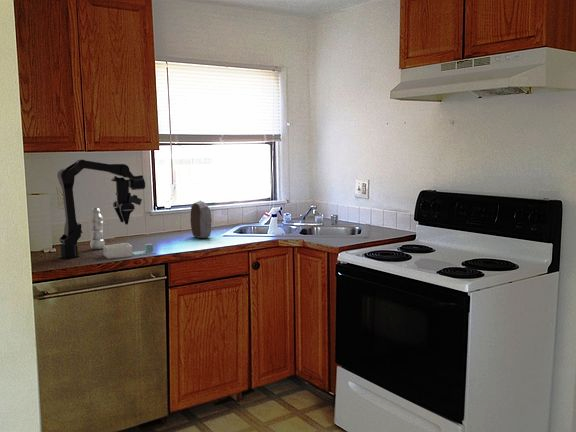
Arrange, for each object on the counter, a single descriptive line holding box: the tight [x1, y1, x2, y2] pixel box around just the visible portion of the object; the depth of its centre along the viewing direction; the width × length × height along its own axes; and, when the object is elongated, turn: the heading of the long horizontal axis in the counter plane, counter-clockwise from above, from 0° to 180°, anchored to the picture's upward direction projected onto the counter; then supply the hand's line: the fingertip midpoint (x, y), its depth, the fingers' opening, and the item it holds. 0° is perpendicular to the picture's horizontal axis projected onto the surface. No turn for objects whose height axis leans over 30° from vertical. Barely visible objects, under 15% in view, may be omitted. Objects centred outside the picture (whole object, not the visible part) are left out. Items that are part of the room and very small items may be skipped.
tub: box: [102, 242, 134, 260], centre depth 252 cm, size 11×9×5 cm
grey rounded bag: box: [190, 200, 213, 239], centre depth 298 cm, size 15×8×20 cm, turn 37°
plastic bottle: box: [88, 207, 106, 250], centre depth 268 cm, size 6×7×20 cm
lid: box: [133, 243, 156, 256], centre depth 257 cm, size 9×7×4 cm
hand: (124, 223), depth 263 cm, fingers open, 9 cm apart
